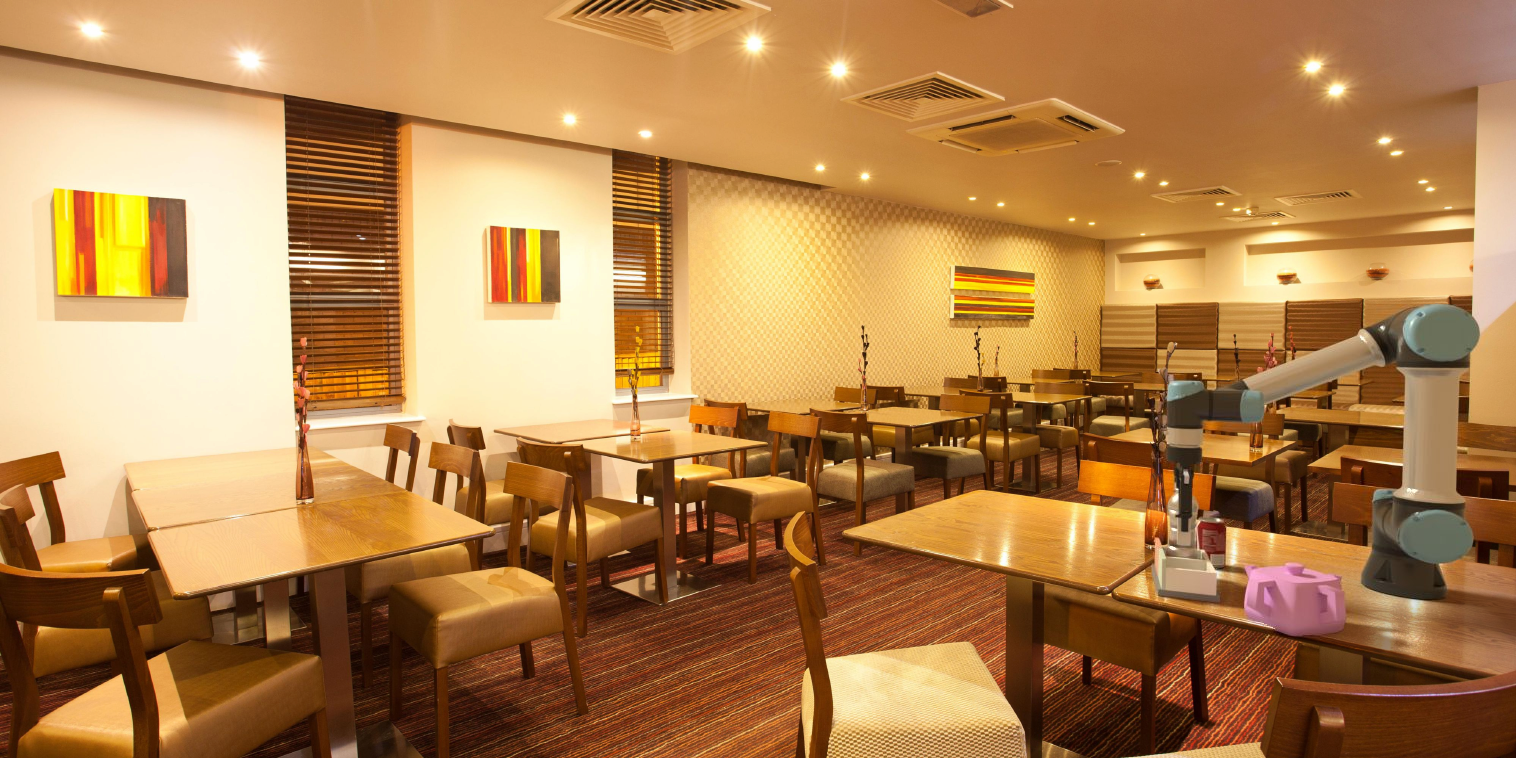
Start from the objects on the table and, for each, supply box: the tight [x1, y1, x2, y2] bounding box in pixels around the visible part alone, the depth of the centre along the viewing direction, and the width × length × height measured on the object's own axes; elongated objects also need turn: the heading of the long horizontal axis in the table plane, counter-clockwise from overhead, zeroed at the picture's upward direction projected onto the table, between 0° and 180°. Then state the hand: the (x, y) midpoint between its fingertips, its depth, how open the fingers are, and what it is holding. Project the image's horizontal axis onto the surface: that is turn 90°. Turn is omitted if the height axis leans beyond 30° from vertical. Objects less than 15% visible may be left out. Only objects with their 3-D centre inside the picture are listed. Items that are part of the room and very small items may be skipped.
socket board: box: [1150, 537, 1221, 604], centre depth 178 cm, size 12×20×8 cm, turn 156°
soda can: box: [1195, 516, 1227, 570], centre depth 194 cm, size 7×7×12 cm
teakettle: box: [1243, 562, 1347, 637], centre depth 154 cm, size 17×17×12 cm
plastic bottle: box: [1166, 482, 1199, 559], centre depth 182 cm, size 6×7×20 cm
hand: (1182, 541), depth 182 cm, fingers closed on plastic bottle, 6 cm apart
